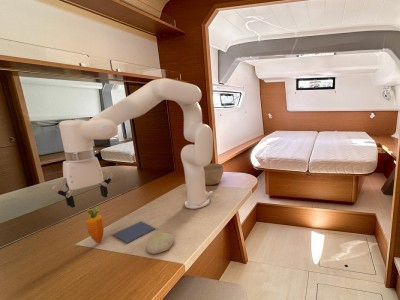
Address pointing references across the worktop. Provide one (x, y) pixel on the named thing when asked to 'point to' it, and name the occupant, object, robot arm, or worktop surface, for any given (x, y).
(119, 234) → the napkin
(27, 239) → the worktop surface
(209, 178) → the planter bowl
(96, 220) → the carrot
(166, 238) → the sea urchin shell
